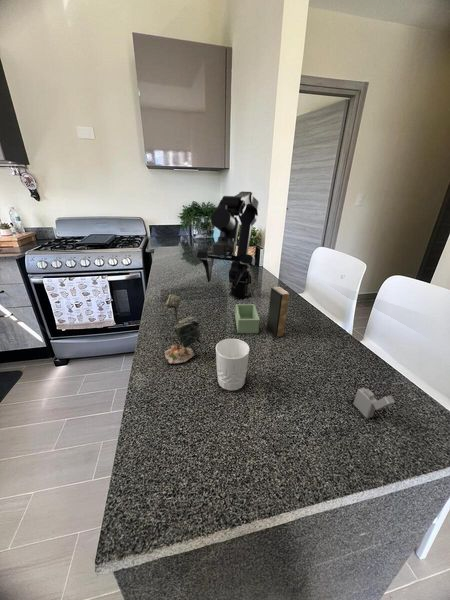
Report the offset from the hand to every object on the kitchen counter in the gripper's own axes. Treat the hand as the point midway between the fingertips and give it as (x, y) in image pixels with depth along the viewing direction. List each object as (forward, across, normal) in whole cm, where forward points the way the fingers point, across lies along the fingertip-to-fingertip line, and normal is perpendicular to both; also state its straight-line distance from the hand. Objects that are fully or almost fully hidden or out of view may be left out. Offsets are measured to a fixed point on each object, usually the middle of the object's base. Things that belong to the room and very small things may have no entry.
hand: (221, 283), depth 82 cm
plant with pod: (+22, -4, -14) cm, 26 cm away
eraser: (+13, +19, +6) cm, 24 cm away
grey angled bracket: (+24, +42, -19) cm, 52 cm away
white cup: (+24, +12, -19) cm, 32 cm away
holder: (+13, +9, +7) cm, 17 cm away
